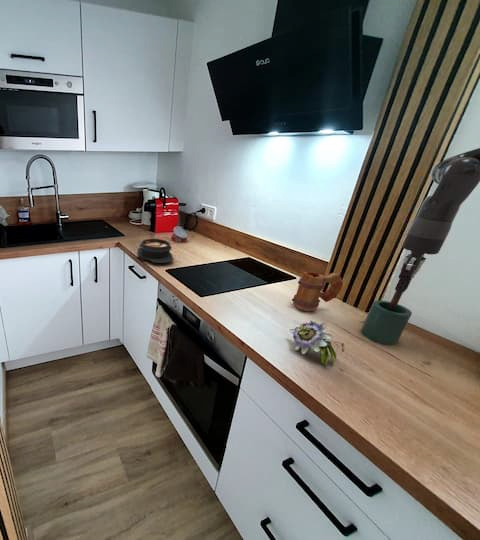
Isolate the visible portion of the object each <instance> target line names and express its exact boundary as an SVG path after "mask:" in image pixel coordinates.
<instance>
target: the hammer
mask: <svg viewBox="0 0 480 540" xmlns="http://www.w3.org/2000/svg"><path fill="white" fill-rule="evenodd" d="M404 275H406V276H409V275H407V274H404ZM403 294H404V292H400V291H396V290H395V292H394V293H393V296H392V298H391V300H390V301H389V302H390V304H389V307H388V309H387V310H389V311H392V312H394V310H395V308H396V306H397V304H399V302H400V300H401V298H402V295H403Z"/></svg>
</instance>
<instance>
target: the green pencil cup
mask: <svg viewBox="0 0 480 540" xmlns="http://www.w3.org/2000/svg"><path fill="white" fill-rule="evenodd" d="M390 302H391V301H388V300H381V299H377V300H374V301H373V302H372V304H371V307H370V309H369V311H368V313H367V316H366V318H365V320H364V322H363V325H362V327H361V330H360V333H361V334H362V335H363V336H364V337H365V338H366V339H368V340H370V341H372V342H374V343H377V344H380V345H383V346H384V345H385V346H395V345H397V343H398V342H399V340H400V338H401V336H402V334H403V333H404V331H405V328H406V326H407V325H408V322H409V320H410V318H411V316H412V313H413V311H411V310H410V309H409V308H407V307H405V306H403V305H401V304H399V303H398V304H397V306H396V308H395V310H394V312H392V311H389V310H387V309H388V307H389V304H390Z"/></svg>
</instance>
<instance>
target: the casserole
mask: <svg viewBox="0 0 480 540" xmlns="http://www.w3.org/2000/svg"><path fill="white" fill-rule="evenodd" d="M171 250H172V246H171V243H170V242H169V241H167V240H165V239H160V238H147V239H143V240H142V241H141V242H140V244H139V247H138V248H137V256H138V257H140V258H141V259H144V260H147V261H150V262H152V263H155V264H166V263H171V262H173V261H174V258H173V254H172V253H171V252H170V251H171Z"/></svg>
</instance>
